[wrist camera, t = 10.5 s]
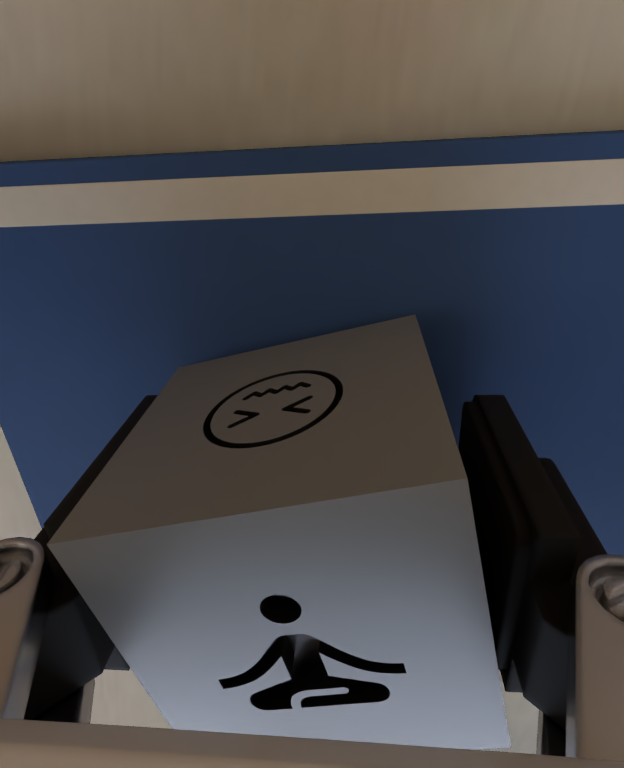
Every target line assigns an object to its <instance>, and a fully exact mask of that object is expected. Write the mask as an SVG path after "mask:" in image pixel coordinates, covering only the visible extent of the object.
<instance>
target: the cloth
mask: <svg viewBox="0 0 624 768" xmlns="http://www.w3.org/2000/svg"><path fill="white" fill-rule="evenodd" d="M410 315H416V318H417V321H418V324H419V327H420V331H421V334H422V337H423V340H424V343H425V346H426V349H427V353H428V356H429V359H430V362H431V365H432V368H433V371H434V375H435V378H436V381H437V384H438V387H439V390H440V393H441V397H442V400H443V403H444V406H445V409H446V412H447V415H448V419H449V422H450V425H451V428H452V431H453V434H454V437H455V440H456V444H457V447H458V446H459V436H460V427H461V418H462V409H463V404H464V402H472V400H473V397H474V395H504V396H505V397H506V399H507V401H508V403H509V405H510V407H511V408H512V410H513V412H514V414H515V416H516V418H517V419H518V421H519V423H520V425H521V427H522V429H523V431H524V432H525V434H526V436H527V438H528V440H529V442H530V443H531V445H532V447H533V449H534V451H535V453H536V454H537V456H538V458H549V459H551V460H552V461H553V462H554V463H555V465H556V466H557V468H558V470H559V472H560V473H561V475H562V477H563V478H564V480H565V482H566V484H567V485H568V487H569V489H570V490H571V492H572V494H573V496H574V497H575V499H576V501H577V502H578V504H579V506H580V508H581V509H582V511H583V513H584V514H585V516H586V518H587V520H588V521H589V523H590V525H591V526H592V528H593V530H594V532H595V533H596V535H597V537H598V538H599V540H600V542H601V544H602V545H603V547H604V549H605V550H606V552H607V554H616V555H622V556H624V130H618V131H598V132H578V133H559V134H539V135H519V136H500V137H480V138H460V139H441V140H421V141H401V142H382V143H362V144H342V145H323V146H303V147H283V148H264V149H244V150H224V151H205V152H185V153H165V154H146V155H126V156H106V157H87V158H67V159H48V160H28V161H8V162H0V425H1V427H2V430H3V432H4V435H5V437H6V440H7V442H8V445H9V447H10V450H11V452H12V455H13V457H14V460H15V462H16V465H17V467H18V470H19V472H20V475H21V477H22V480H23V482H24V485H25V487H26V490H27V492H28V495H29V497H30V500H31V502H32V505H33V507H34V510H35V512H36V515H37V517H38V520H39V522H40V525H41V527H42V529H43V528H44V525H43V524H44V523H45V521H46V520H47V519H48V518H49V516H50V515H51V514H52V513H53V511H54V510H55V509H56V508H57V506H58V505H59V504H60V503H61V501H62V500H63V499H64V498H65V496H66V495H67V494H68V493H69V491H70V490H71V489H72V488H73V486H74V485H75V484H76V483H77V481H78V480H79V479H80V477H81V476H82V475H83V474H84V472H85V471H86V470H87V469H88V467H89V466H90V465H91V464H92V462H93V461H94V460H95V459H96V457H97V456H98V455H99V454H100V452H101V451H102V450H103V449H104V447H105V446H106V445H107V444H108V442H109V441H110V440H111V439H112V437H113V436H114V435H115V434H116V432H117V431H118V430H119V429H120V427H121V426H122V425H123V424H124V422H125V421H126V420H127V419H128V417H129V416H130V415H131V414H132V412H133V411H134V410H135V409H136V407H137V406H138V405H139V404H140V402H141V401H142V400H143V399H144V397H145V396H147V395H158V394H159V393H160V392H161V390H162V389H163V388H164V386H165V385H166V384H167V382H168V381H169V380H170V378H171V377H172V376H173V374H174V373H175V372H176V370H177V369H178V368H179V367H183V366H187V365H192V364H196V363H201V362H205V361H209V360H214V359H218V358H223V357H227V356H232V355H236V354H241V353H245V352H250V351H254V350H259V349H263V348H267V347H272V346H276V345H281V344H285V343H290V342H294V341H299V340H303V339H308V338H312V337H317V336H321V335H325V334H330V333H334V332H339V331H343V330H348V329H352V328H357V327H361V326H366V325H370V324H375V323H379V322H383V321H388V320H392V319H397V318H401V317H406V316H410Z"/></svg>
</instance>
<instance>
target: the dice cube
mask: <svg viewBox="0 0 624 768" xmlns="http://www.w3.org/2000/svg"><path fill="white" fill-rule="evenodd" d="M47 546H48V547H49V549H50V550H51V552H52V553H53V555H54V556H55V558H56V559H57V561H58V562H59V563H60V565H61V566H62V568H63V569H64V571H65V572H66V574H67V575H68V577H69V578H70V580H71V581H72V583H73V584H74V586H75V587H76V588H77V590H78V591H79V593H80V594H81V596H82V597H83V599H84V600H85V602H86V603H87V605H88V606H89V608H90V609H91V611H92V612H93V614H94V615H95V616H96V618H97V619H98V621H99V622H100V624H101V625H102V627H103V628H104V630H105V631H106V633H107V634H108V636H109V637H110V639H111V640H112V641H113V643H114V644H115V646H116V647H117V649H118V650H119V652H120V653H121V655H122V656H123V658H124V659H125V661H126V662H127V664H128V665H129V666H130V668H131V669H132V671H133V672H134V674H135V675H136V677H137V678H138V680H139V681H140V683H141V684H142V686H143V687H144V689H145V690H146V692H147V693H148V694H149V696H150V697H151V699H152V700H153V702H154V703H155V705H156V706H157V708H158V709H159V711H160V712H161V714H162V715H163V717H164V718H165V719H166V721H167V722H168V724H169V725H170V727H171V728H172V729H180V730H195V731H210V732H225V733H240V734H255V735H270V736H285V737H299V738H314V739H329V740H343V741H358V742H372V743H386V744H399V745H413V746H427V747H441V748H454V749H468V750H471V749H489V748H507V747H511V744H510V738H509V732H508V726H507V720H506V713H505V707H504V701H503V695H502V689H501V682H500V676H499V670H498V664H497V658H496V651H495V645H494V639H493V633H492V627H491V621H490V614H489V608H488V602H487V596H486V590H485V583H484V577H483V571H482V565H481V559H480V552H479V546H478V540H477V534H476V528H475V521H474V515H473V509H472V503H471V497H470V491H469V484H468V478H467V475H466V472H465V469H464V466H463V462H462V459H461V456H460V453H459V450H458V447H457V444H456V440H455V437H454V434H453V431H452V428H451V425H450V422H449V419H448V415H447V412H446V409H445V406H444V403H443V400H442V397H441V393H440V390H439V387H438V384H437V381H436V378H435V375H434V371H433V368H432V365H431V362H430V359H429V356H428V353H427V349H426V346H425V343H424V340H423V337H422V334H421V331H420V327H419V324H418V321H417V318H416V315H410V316H406V317H401V318H397V319H392V320H388V321H383V322H379V323H375V324H370V325H366V326H361V327H357V328H352V329H348V330H343V331H339V332H334V333H330V334H325V335H321V336H317V337H312V338H308V339H303V340H299V341H294V342H290V343H285V344H281V345H276V346H272V347H267V348H263V349H259V350H254V351H250V352H245V353H241V354H236V355H232V356H227V357H223V358H218V359H214V360H209V361H205V362H201V363H196V364H192V365H187V366H183V367H179V368H178V369H177V370H176V372H175V373H174V374H173V376H172V377H171V378H170V380H169V381H168V382H167V384H166V385H165V386H164V388H163V389H162V390H161V392H160V393H159V394H158V396H157V397H156V398H155V400H154V401H153V403H152V404H151V405H150V407H149V408H148V409H147V411H146V412H145V413H144V415H143V416H142V417H141V419H140V420H139V421H138V423H137V424H136V425H135V427H134V428H133V429H132V431H131V432H130V433H129V435H128V436H127V437H126V439H125V440H124V441H123V443H122V444H121V445H120V447H119V448H118V449H117V451H116V452H115V453H114V455H113V456H112V458H111V459H110V460H109V462H108V463H107V464H106V466H105V467H104V468H103V470H102V471H101V472H100V474H99V475H98V476H97V478H96V479H95V480H94V482H93V483H92V484H91V486H90V487H89V488H88V490H87V491H86V492H85V494H84V495H83V496H82V498H81V499H80V500H79V502H78V503H77V504H76V506H75V507H74V509H73V510H72V511H71V513H70V514H69V515H68V517H67V518H66V519H65V521H64V522H63V523H62V525H61V526H60V527H59V529H58V530H57V531H56V533H55V534H54V535H53V537H52V538H51V539H50V541H49V542H48V543H47Z"/></svg>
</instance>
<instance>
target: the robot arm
mask: <svg viewBox="0 0 624 768" xmlns="http://www.w3.org/2000/svg"><path fill="white" fill-rule="evenodd" d="M157 396H158V395H147V396H145V397H144V399H143V400H142V401H141V402H140V404H139V405H138V406H137V407H136V409H135V410H134V411H133V412H132V414H131V415H130V416H129V417H128V419H127V420H126V421H125V422H124V424H123V425H122V426H121V427H120V429H119V430H118V431H117V432H116V434H115V435H114V436H113V437H112V439H111V440H110V441H109V442H108V444H107V445H106V446H105V447H104V449H103V450H102V451H101V452H100V454H99V455H98V456H97V457H96V459H95V460H94V461H93V462H92V464H91V465H90V466H89V467H88V469H87V470H86V471H85V472H84V474H83V475H82V476H81V477H80V479H79V480H78V481H77V483H76V484H75V485H74V486H73V488H72V489H71V490H70V491H69V493H68V494H67V495H66V496H65V498H64V499H63V500H62V501H61V503H60V504H59V505H58V506H57V508H56V509H55V510H54V511H53V513H52V514H51V515H50V516H49V518H48V519H47V520H46V521H45V523H44V524H43V525H44V528H43V529H42V530H41V532H40V533H39V534H38V535H37V537H36V538H35V539H34V540H33V539H31V538H24V537H16V538H7V539H3V540H0V768H624V556H622V555H616V554H607V552H606V550H605V549H604V547H603V545H602V544H601V542H600V540H599V538H598V537H597V535H596V533H595V532H594V530H593V528H592V526H591V525H590V523H589V521H588V520H587V518H586V516H585V514H584V513H583V511H582V509H581V508H580V506H579V504H578V502H577V501H576V499H575V497H574V496H573V494H572V492H571V490H570V489H569V487H568V485H567V484H566V482H565V480H564V478H563V477H562V475H561V473H560V472H559V470H558V468H557V466H556V465H555V463H554V462H553V461H552V460H551V459H549V458H538V456H537V454H536V453H535V451H534V449H533V447H532V445H531V443H530V442H529V440H528V438H527V436H526V434H525V432H524V431H523V429H522V427H521V425H520V423H519V421H518V419H517V418H516V416H515V414H514V412H513V410H512V408H511V407H510V405H509V403H508V401H507V399H506V397H505V396H504V395H474V397H473V400H472V402H464V404H463V409H462V418H461V427H460V436H459V446H458V450H459V453H460V456H461V459H462V462H463V466H464V469H465V472H466V475H467V478H468V484H469V491H470V497H471V503H472V509H473V515H474V521H475V528H476V534H477V540H478V546H479V552H480V559H481V565H482V571H483V577H484V583H485V590H486V596H487V602H488V608H489V614H490V621H491V627H492V633H493V639H494V645H495V651H496V658H497V664H498V670H500V672H501V676H502V679H503V683H504V687H505V691H507V692H523V696H524V697H525V698H526V699H527V700H528V701H529V702H531V703H532V704H533V705H534V706H536V707H537V708H538V709H539V717H538V733H537V749H536V754H523V753H509V752H495V751H482V750H468V749H454V748H441V747H427V746H413V745H399V744H386V743H372V742H358V741H343V740H329V739H314V738H299V737H285V736H270V735H255V734H240V733H225V732H210V731H195V730H180V729H165V728H150V727H134V726H118V725H102V724H90V720H91V711H92V703H93V694H94V686H95V680H94V678H95V677H97V676H98V675H100V674H102V672H103V670H104V669H111V670H129V669H130V666H129V665H128V664H127V662H126V661H125V659H124V658H123V656H122V655H121V653H120V652H119V650H118V649H117V647H116V646H115V644H114V643H113V641H112V640H111V639H110V637H109V636H108V634H107V633H106V631H105V630H104V628H103V627H102V625H101V624H100V622H99V621H98V619H97V618H96V616H95V615H94V614H93V612H92V611H91V609H90V608H89V606H88V605H87V603H86V602H85V600H84V599H83V597H82V596H81V594H80V593H79V591H78V590H77V588H76V587H75V586H74V584H73V583H72V581H71V580H70V578H69V577H68V575H67V574H66V572H65V571H64V569H63V568H62V566H61V565H60V563H59V562H58V561H57V559H56V558H55V556H54V555H53V553H52V552H51V550H50V549H49V547H48V546H47V543H48V542H49V541H50V539H51V538H52V537H53V535H54V534H55V533H56V531H57V530H58V529H59V527H60V526H61V525H62V523H63V522H64V521H65V519H66V518H67V517H68V515H69V514H70V513H71V511H72V510H73V509H74V507H75V506H76V504H77V503H78V502H79V500H80V499H81V498H82V496H83V495H84V494H85V492H86V491H87V490H88V488H89V487H90V486H91V484H92V483H93V482H94V480H95V479H96V478H97V476H98V475H99V474H100V472H101V471H102V470H103V468H104V467H105V466H106V464H107V463H108V462H109V460H110V459H111V458H112V456H113V455H114V453H115V452H116V451H117V449H118V448H119V447H120V445H121V444H122V443H123V441H124V440H125V439H126V437H127V436H128V435H129V433H130V432H131V431H132V429H133V428H134V427H135V425H136V424H137V423H138V421H139V420H140V419H141V417H142V416H143V415H144V413H145V412H146V411H147V409H148V408H149V407H150V405H151V404H152V403H153V401H154V400H155V398H156V397H157Z"/></svg>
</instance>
